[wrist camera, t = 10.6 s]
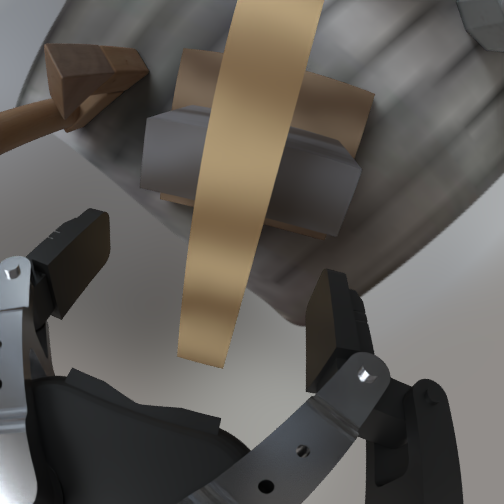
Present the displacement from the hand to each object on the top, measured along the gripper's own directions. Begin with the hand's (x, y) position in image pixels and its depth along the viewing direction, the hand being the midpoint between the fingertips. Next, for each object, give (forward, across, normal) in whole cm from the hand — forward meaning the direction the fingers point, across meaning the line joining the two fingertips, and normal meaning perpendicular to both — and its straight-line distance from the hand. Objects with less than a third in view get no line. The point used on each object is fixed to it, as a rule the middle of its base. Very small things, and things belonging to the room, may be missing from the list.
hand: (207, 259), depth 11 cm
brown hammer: (+22, +18, -3) cm, 29 cm away
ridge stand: (+22, 0, 0) cm, 22 cm away
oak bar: (+10, 0, +1) cm, 10 cm away
